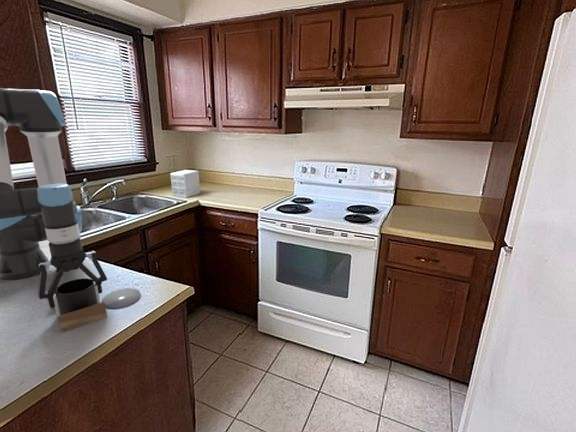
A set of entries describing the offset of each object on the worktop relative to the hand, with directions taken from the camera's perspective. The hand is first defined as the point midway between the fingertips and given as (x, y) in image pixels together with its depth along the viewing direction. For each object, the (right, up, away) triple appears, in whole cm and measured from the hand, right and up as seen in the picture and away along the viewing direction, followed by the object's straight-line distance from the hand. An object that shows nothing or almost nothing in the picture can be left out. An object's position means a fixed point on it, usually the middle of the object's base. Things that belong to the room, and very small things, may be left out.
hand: (79, 309), depth 95 cm
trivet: (+9, +1, +7) cm, 12 cm away
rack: (0, -1, 0) cm, 1 cm away
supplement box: (-15, +44, +147) cm, 154 cm away
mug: (0, -1, 0) cm, 1 cm away
